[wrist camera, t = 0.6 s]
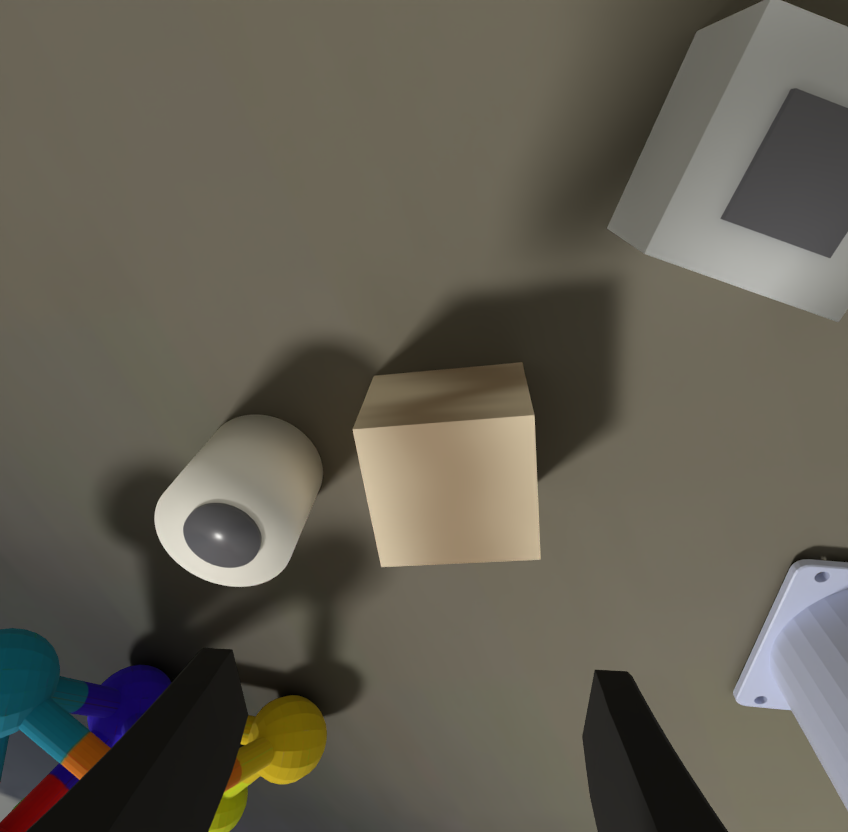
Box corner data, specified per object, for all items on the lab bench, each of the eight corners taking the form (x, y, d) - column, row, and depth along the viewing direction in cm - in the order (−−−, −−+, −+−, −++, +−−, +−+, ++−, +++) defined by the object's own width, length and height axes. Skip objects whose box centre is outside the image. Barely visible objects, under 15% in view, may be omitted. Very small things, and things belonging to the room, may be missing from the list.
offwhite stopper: (320, 418, 20) (286, 484, 16) (325, 517, 22) (295, 596, 18) (200, 409, 20) (139, 472, 16) (216, 508, 22) (164, 584, 18)
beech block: (521, 360, 18) (534, 415, 15) (528, 485, 21) (540, 559, 17) (374, 374, 19) (352, 429, 15) (396, 494, 21) (381, 566, 18)
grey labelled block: (870, 99, 14) (1011, 87, 11) (759, 282, 17) (843, 324, 13) (695, 31, 14) (777, -6, 10) (605, 227, 16) (646, 255, 12)
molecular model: (340, 586, 28) (-36, 575, 20) (395, 796, 21) (-150, 908, 13) (245, 740, 34) (-66, 778, 27) (263, 938, 28) (-152, 1069, 20)
